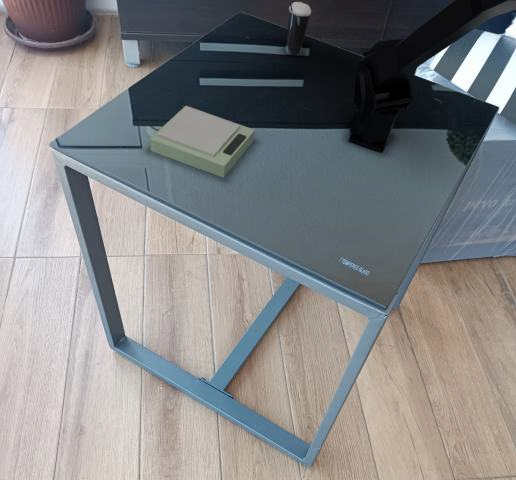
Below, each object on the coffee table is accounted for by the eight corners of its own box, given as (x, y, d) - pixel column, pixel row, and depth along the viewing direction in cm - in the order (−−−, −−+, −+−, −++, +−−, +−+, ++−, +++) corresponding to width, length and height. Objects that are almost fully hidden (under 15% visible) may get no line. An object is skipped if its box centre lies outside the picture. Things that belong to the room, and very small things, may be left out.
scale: (253, 141, 84) (255, 126, 82) (223, 178, 77) (224, 162, 75) (185, 117, 86) (185, 101, 84) (150, 151, 79) (149, 134, 77)
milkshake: (275, 49, 106) (283, -4, 98) (294, 45, 108) (303, -7, 100) (288, 59, 104) (297, 5, 96) (307, 55, 107) (317, 2, 99)
